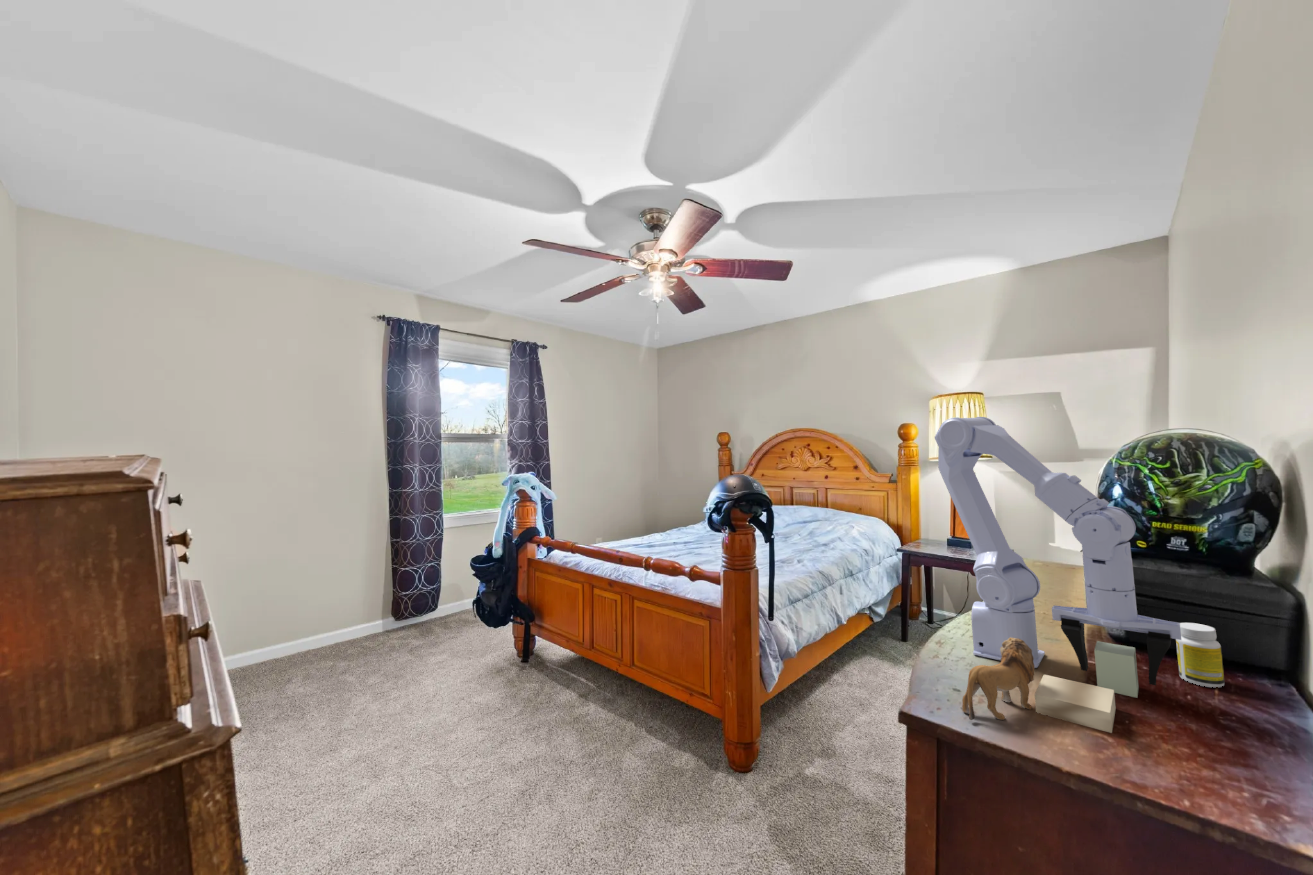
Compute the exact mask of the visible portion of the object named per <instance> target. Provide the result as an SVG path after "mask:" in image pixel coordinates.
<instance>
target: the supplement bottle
mask: <svg viewBox="0 0 1313 875" xmlns="http://www.w3.org/2000/svg"><path fill="white" fill-rule="evenodd" d="M1179 623H1180V629H1181V640H1178V639H1175V643H1176V655H1177V662H1178V663H1177V666H1178V667H1177V668H1178V675H1179V677H1180V678H1181V679H1182V680H1183V679H1184V681H1185V682H1187V681H1188V682H1187V683H1190V684H1192V683H1193V685H1195V684H1196V685H1197V686H1199V685H1200V687H1204V686H1205V688H1212V687H1213V688H1215V689H1216V687H1218V688H1222V686H1223V687H1224V686H1225V675H1224V665H1223V663H1224V662H1223V654H1222V646H1221V644H1220V643H1219V641H1217V637H1218V636H1217V632H1216V631H1217V630H1216V628H1215V627H1213V626H1210V625H1208V624H1207V625H1205V624H1200V623H1195V622H1179ZM1213 688H1212V689H1213Z"/></svg>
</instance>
